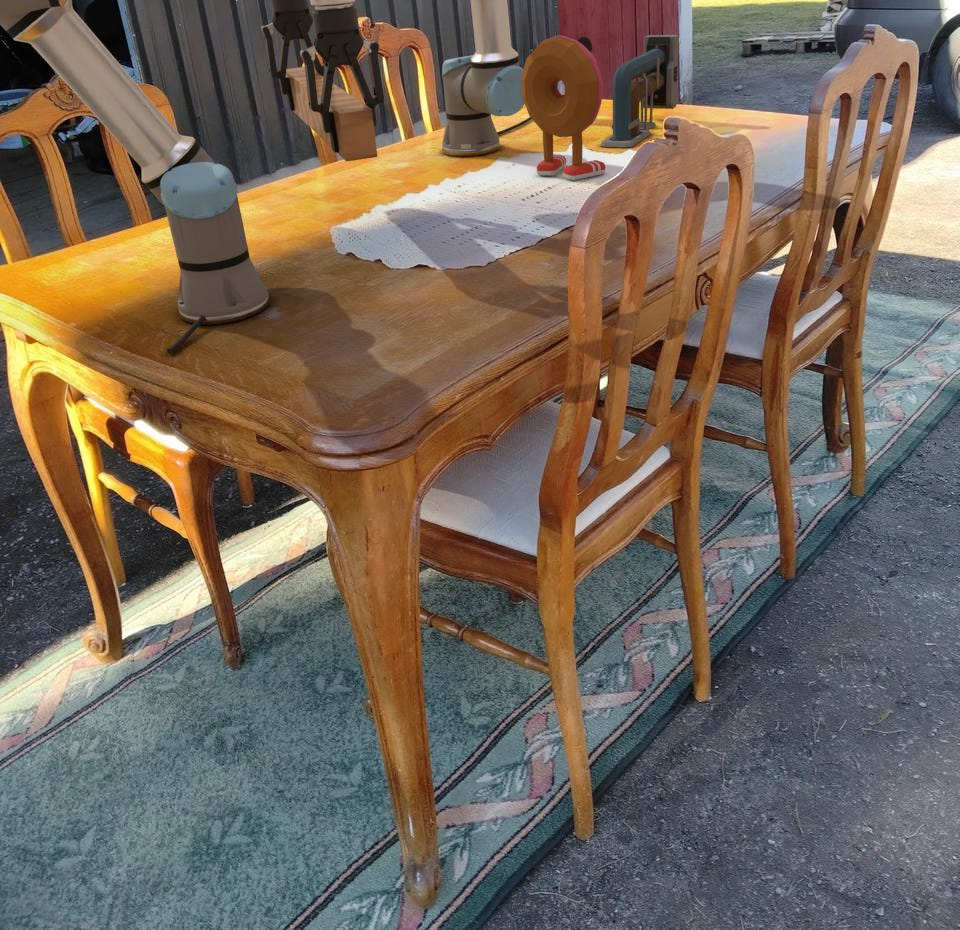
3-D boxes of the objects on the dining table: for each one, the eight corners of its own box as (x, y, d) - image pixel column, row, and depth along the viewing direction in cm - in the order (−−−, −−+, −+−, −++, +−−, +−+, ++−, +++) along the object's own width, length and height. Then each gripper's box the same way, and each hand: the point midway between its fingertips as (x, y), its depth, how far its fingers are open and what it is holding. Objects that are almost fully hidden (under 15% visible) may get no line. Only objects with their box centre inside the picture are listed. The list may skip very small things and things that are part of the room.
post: (377, 156, 169) (371, 109, 165) (346, 161, 168) (339, 113, 163) (313, 104, 218) (307, 66, 214) (289, 107, 217) (282, 69, 213)
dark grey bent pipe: (630, 147, 243) (630, 56, 233) (598, 146, 247) (597, 56, 236) (676, 118, 269) (678, 35, 258) (646, 117, 273) (647, 35, 262)
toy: (617, 173, 223) (617, 32, 207) (590, 184, 216) (588, 39, 201) (546, 163, 236) (541, 30, 220) (519, 173, 230) (511, 36, 214)
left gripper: (382, -1, 167) (397, 137, 179) (274, 10, 162) (297, 151, 174) (393, 1, 161) (408, 144, 173) (281, 14, 156) (305, 160, 168)
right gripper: (328, -16, 205) (344, 99, 217) (240, -6, 200) (261, 111, 212) (335, -14, 199) (351, 104, 211) (245, -4, 194) (266, 116, 206)
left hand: (352, 148), depth 173 cm, fingers closed on post, 6 cm apart
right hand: (306, 107), depth 211 cm, fingers closed on post, 6 cm apart
